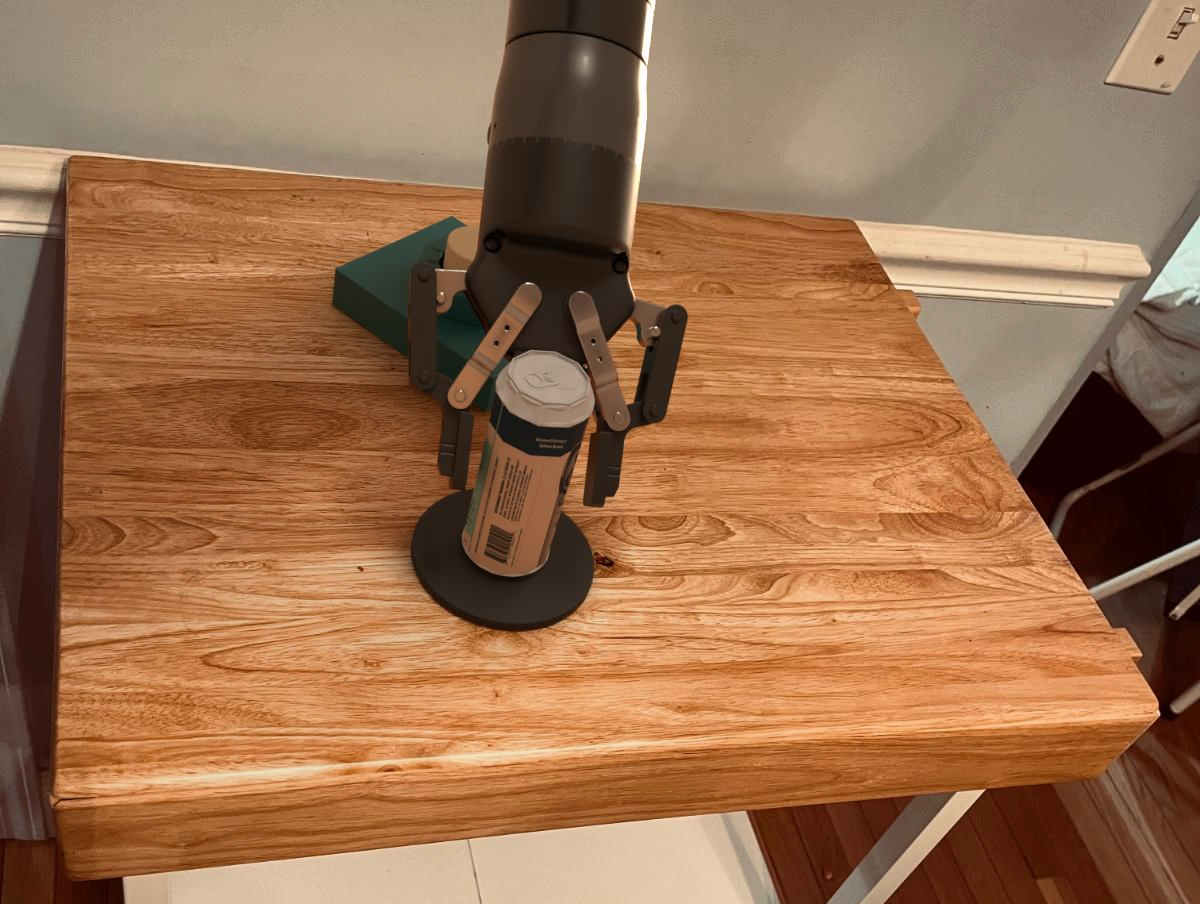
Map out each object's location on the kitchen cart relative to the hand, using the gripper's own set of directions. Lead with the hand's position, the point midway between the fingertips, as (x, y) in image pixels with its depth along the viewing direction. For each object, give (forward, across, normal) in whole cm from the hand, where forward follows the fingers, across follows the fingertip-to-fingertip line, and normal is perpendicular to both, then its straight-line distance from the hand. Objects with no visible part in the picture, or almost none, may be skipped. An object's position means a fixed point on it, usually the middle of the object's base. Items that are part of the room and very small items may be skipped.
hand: (526, 497), depth 59 cm
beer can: (+3, 0, +6) cm, 6 cm away
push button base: (-11, -2, +20) cm, 23 cm away
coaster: (+3, 0, +6) cm, 7 cm away
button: (-14, -2, +17) cm, 22 cm away
